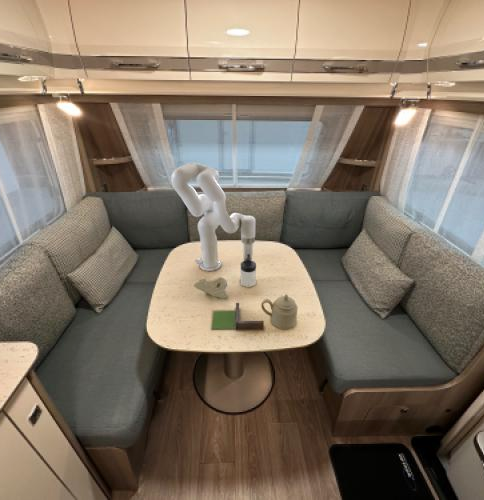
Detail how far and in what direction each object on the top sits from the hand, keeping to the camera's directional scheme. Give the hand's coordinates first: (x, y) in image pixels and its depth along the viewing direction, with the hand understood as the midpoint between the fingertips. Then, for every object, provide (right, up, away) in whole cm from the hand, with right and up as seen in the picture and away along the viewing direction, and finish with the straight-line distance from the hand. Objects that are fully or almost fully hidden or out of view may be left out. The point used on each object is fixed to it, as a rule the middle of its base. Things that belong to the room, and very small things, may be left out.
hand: (248, 267), depth 151 cm
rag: (-12, -22, -30) cm, 39 cm away
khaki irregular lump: (-19, -14, -15) cm, 28 cm away
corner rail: (0, -22, -30) cm, 37 cm away
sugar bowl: (+13, -23, -31) cm, 40 cm away
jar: (0, -8, -6) cm, 10 cm away
